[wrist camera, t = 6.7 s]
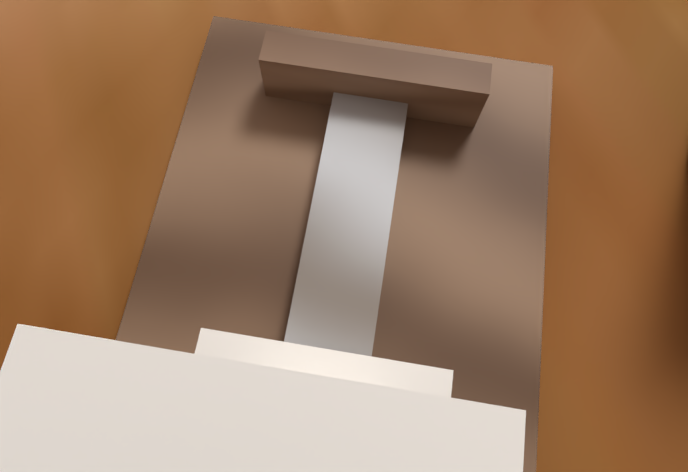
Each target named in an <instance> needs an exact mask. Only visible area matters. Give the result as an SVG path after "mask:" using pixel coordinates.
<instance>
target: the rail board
mask: <svg viewBox="0 0 688 472" xmlns="http://www.w3.org/2000/svg"><path fill="white" fill-rule="evenodd" d="M552 78H553V66H549V65H542V64H536V63H529V62H522V61H515V60H508V59H502V58H495V57H488V56H481V55H474V54H468V53H461V52H454V51H447V50H440V49H434V48H427V47H420V46H413V45H406V44H400V43H393V42H386V41H379V40H372V39H365V38H359V37H352V36H345V35H338V34H331V33H325V32H318V31H311V30H304V29H297V28H291V27H284V26H277V25H270V24H263V23H257V22H250V21H243V20H236V19H229V18H222V17H216V16H214V17H213V20H212V23H211V27H210V30H209V33H208V36H207V40H206V43H205V46H204V50H203V53H202V56H201V60H200V63H199V66H198V70H197V73H196V76H195V79H194V83H193V86H192V89H191V93H190V96H189V99H188V103H187V106H186V109H185V112H184V116H183V119H182V122H181V126H180V129H179V132H178V136H177V139H176V142H175V146H174V149H173V152H172V155H171V159H170V162H169V165H168V169H167V172H166V175H165V179H164V182H163V185H162V189H161V192H160V195H159V198H158V202H157V205H156V208H155V212H154V215H153V218H152V222H151V225H150V228H149V231H148V235H147V238H146V241H145V245H144V248H143V251H142V255H141V258H140V261H139V265H138V268H137V271H136V274H135V278H134V281H133V284H132V288H131V291H130V294H129V298H128V301H127V304H126V308H125V311H124V314H123V317H122V321H121V324H120V327H119V331H118V334H117V337H116V341H122V342H128V343H134V344H140V345H146V346H151V347H157V348H163V349H169V350H175V351H181V352H187V353H193V354H194V353H195V349H196V346H197V342H198V338H199V334H200V330H201V328H206V329H211V330H217V331H223V332H229V333H235V334H241V335H247V336H253V337H259V338H265V339H271V340H277V341H283V342H289V343H295V344H300V345H306V346H312V347H318V348H324V349H330V350H336V351H342V352H348V353H354V354H360V355H366V356H372V357H378V358H384V359H390V360H395V361H401V362H407V363H413V364H419V365H425V366H431V367H437V368H443V369H449V370H454V371H453V381H452V392H451V398H457V399H463V400H468V401H474V402H480V403H486V404H492V405H498V406H504V407H510V408H515V409H521V410H526V422H525V442H524V462H523V472H536V460H537V436H538V412H539V388H540V364H541V340H542V317H543V293H544V269H545V245H546V221H547V197H548V173H549V149H550V125H551V102H552Z"/></svg>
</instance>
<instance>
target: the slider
mask: <svg viewBox="0 0 688 472" xmlns="http://www.w3.org/2000/svg"><path fill="white" fill-rule="evenodd" d="M453 371H454V370H449V369H443V368H437V367H431V366H425V365H419V364H413V363H407V362H401V361H395V360H390V359H384V358H378V357H372V356H366V355H360V354H354V353H348V352H342V351H336V350H330V349H324V348H318V347H312V346H306V345H300V344H295V343H289V342H283V341H277V340H271V339H265V338H259V337H253V336H247V335H241V334H235V333H229V332H223V331H217V330H211V329H206V328H201V330H200V334H199V338H198V342H197V346H196V349H195V353H194V354H193V353H187V352H181V351H175V350H169V349H163V348H157V347H151V346H146V345H140V344H134V343H128V342H122V341H116V340H110V339H105V338H99V337H93V336H87V335H81V334H75V333H69V332H63V331H58V330H52V329H46V328H40V327H34V326H28V325H22V324H17V327H16V330H15V333H14V335H13V338H12V341H11V343H10V346H9V349H8V352H7V354H6V357H5V360H4V363H3V365H2V368H1V371H0V472H523V462H524V442H525V422H526V410H521V409H515V408H510V407H504V406H498V405H492V404H486V403H480V402H474V401H468V400H463V399H457V398H451V392H452V381H453Z"/></svg>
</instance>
